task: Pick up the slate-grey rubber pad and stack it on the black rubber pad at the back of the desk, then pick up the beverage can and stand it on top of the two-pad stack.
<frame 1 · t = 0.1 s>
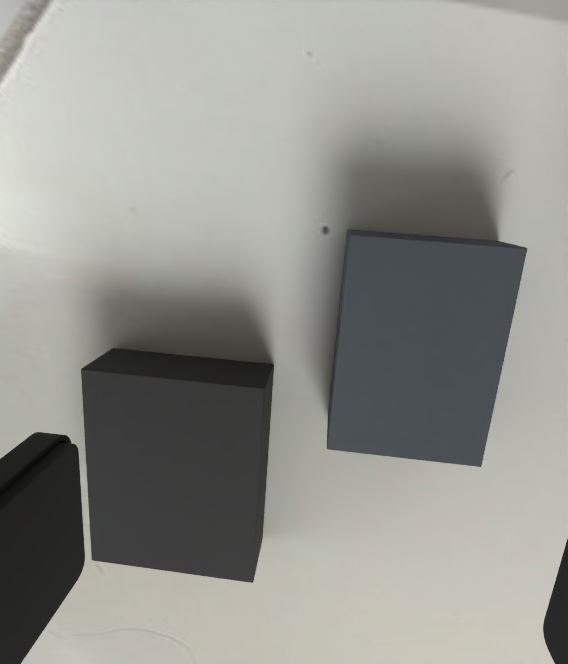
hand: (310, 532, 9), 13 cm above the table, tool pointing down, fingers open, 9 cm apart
pad top: (407, 336, 21), on the table
pad base: (190, 447, 24), on the table
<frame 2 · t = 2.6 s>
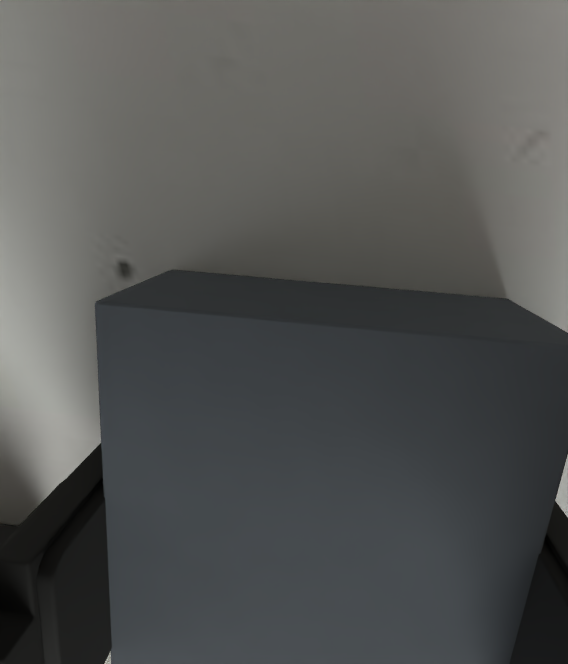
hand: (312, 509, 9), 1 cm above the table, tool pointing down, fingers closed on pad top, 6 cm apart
pad top: (313, 489, 10), on the table, touching gripper
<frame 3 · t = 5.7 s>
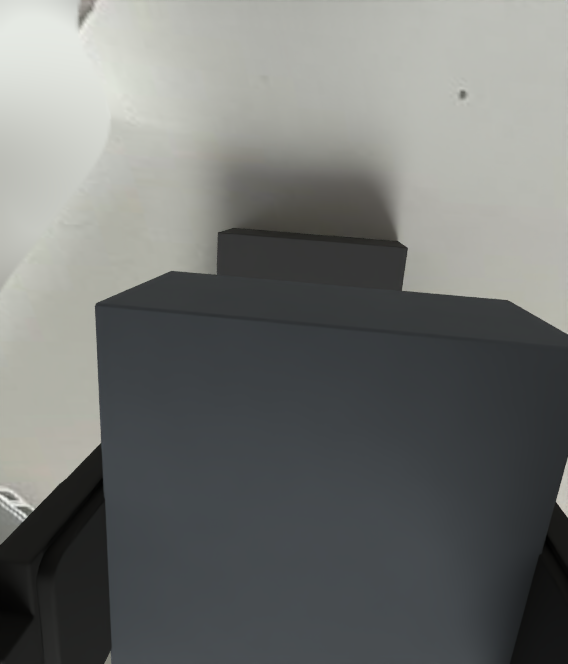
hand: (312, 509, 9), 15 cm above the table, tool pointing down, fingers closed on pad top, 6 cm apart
pad top: (314, 490, 10), point 14 cm above the table, touching gripper
pad base: (305, 333, 24), on the table
when the fingers open (4 cm above the table, at t = 8.7 s): pad top stays where it is, resting on pad base.
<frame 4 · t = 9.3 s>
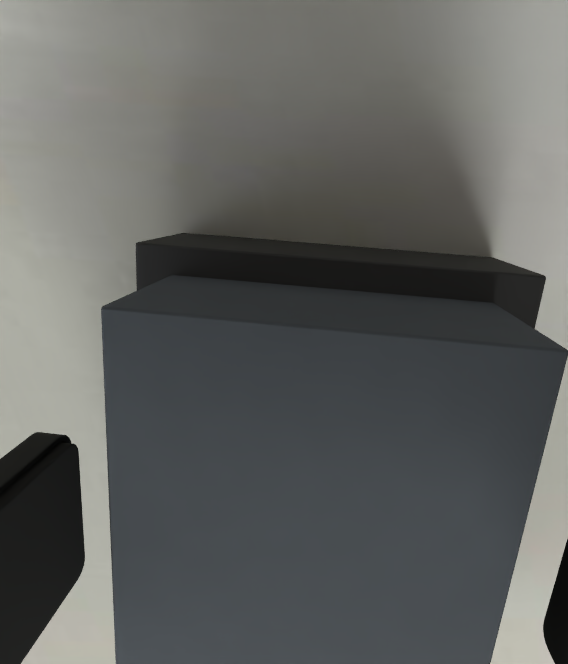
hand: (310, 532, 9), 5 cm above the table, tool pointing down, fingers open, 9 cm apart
pad top: (309, 485, 10), point 3 cm above the table, touching pad base
pad base: (316, 421, 13), on the table, touching pad top
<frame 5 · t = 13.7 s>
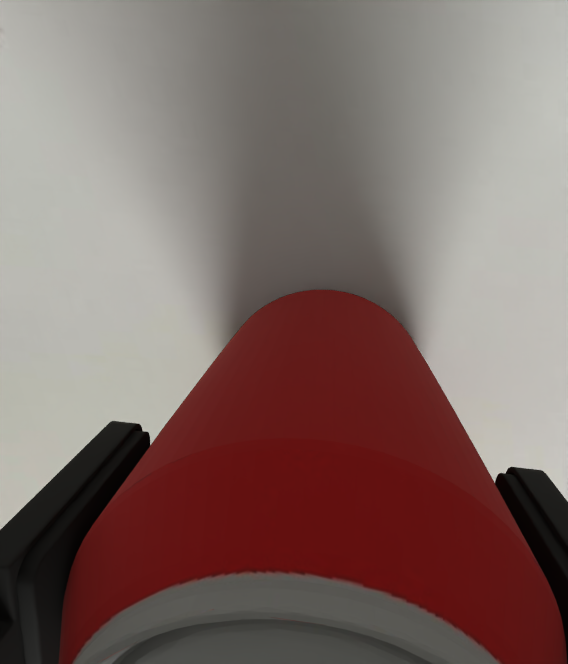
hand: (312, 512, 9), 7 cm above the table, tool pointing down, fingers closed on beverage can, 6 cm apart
beverage can: (322, 377, 16), on the table, touching gripper
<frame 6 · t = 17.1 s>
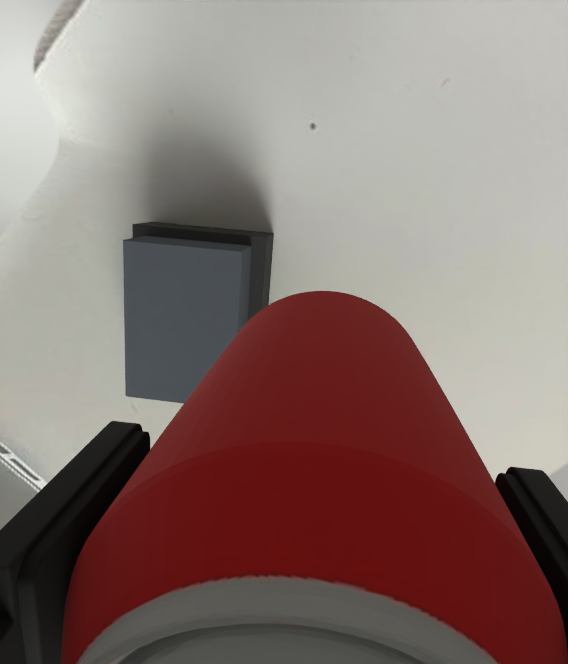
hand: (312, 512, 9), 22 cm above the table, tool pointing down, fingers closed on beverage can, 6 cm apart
pad top: (196, 315, 28), point 3 cm above the table, touching pad base
beverage can: (322, 378, 16), point 14 cm above the table, touching gripper
pad base: (209, 303, 31), on the table, touching pad top
when the fingers open (13 cm above the table, at t = 20.8 s): beverage can stays where it is, resting on pad top.
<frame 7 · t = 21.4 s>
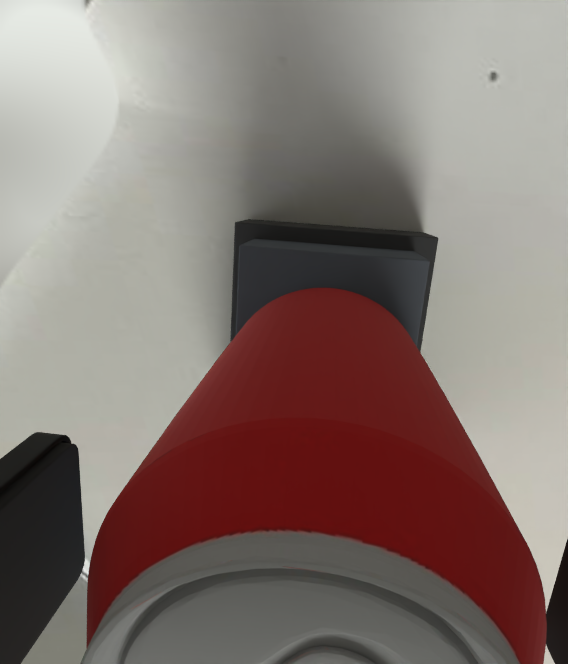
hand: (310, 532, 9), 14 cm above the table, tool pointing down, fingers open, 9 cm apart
pad top: (322, 352, 20), point 3 cm above the table, touching beverage can, pad base
beverage can: (322, 372, 17), point 6 cm above the table, touching pad top
pad base: (324, 331, 23), on the table, touching pad top
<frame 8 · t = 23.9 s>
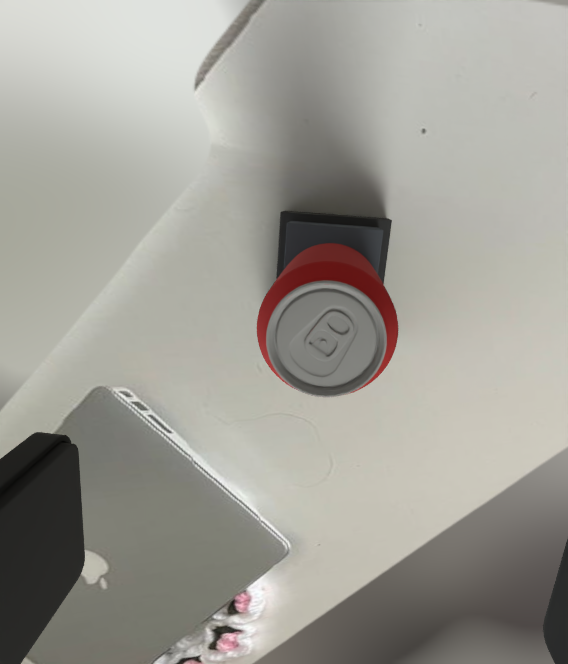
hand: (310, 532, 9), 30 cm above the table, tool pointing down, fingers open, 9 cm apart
pad top: (328, 285, 35), point 3 cm above the table, touching beverage can, pad base
beverage can: (329, 290, 32), point 6 cm above the table, touching pad top
pad base: (329, 277, 38), on the table, touching pad top
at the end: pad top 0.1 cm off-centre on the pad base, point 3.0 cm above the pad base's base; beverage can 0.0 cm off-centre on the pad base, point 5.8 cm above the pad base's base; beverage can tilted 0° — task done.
